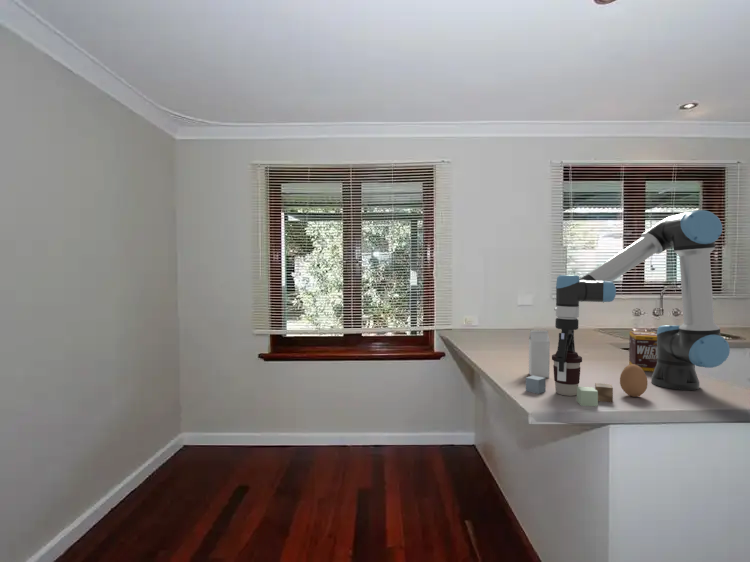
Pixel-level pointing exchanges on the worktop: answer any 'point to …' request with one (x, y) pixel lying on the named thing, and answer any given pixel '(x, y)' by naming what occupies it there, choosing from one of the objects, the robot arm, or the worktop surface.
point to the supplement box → (643, 350)
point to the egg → (633, 380)
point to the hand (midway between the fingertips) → (565, 377)
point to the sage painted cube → (587, 396)
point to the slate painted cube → (535, 384)
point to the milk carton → (539, 353)
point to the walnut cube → (604, 392)
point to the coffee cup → (568, 374)
